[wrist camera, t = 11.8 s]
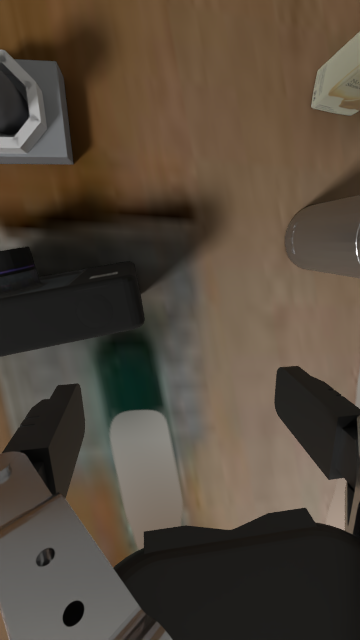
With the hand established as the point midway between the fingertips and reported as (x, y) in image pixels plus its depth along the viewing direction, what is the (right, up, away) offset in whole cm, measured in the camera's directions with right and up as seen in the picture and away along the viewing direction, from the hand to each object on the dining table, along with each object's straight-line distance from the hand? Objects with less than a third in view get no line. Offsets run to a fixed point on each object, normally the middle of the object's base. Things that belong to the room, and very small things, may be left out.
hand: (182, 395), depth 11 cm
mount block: (-19, +26, +21) cm, 39 cm away
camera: (-17, +8, +27) cm, 33 cm away
